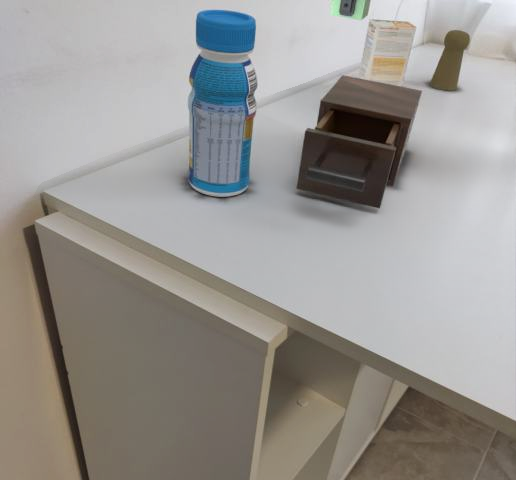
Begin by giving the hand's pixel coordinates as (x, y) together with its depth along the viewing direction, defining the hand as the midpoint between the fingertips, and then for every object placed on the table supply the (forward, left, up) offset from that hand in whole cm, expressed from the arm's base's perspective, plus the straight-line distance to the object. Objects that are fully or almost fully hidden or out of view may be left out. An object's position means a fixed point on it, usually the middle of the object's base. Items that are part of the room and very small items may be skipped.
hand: (349, 12), depth 84 cm
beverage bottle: (+32, +9, -17) cm, 38 cm away
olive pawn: (-43, -5, -17) cm, 46 cm away
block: (0, 0, 0) cm, 0 cm away
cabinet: (+7, +13, -17) cm, 23 cm away
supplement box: (-23, -8, -17) cm, 30 cm away
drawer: (+19, +20, -16) cm, 32 cm away
